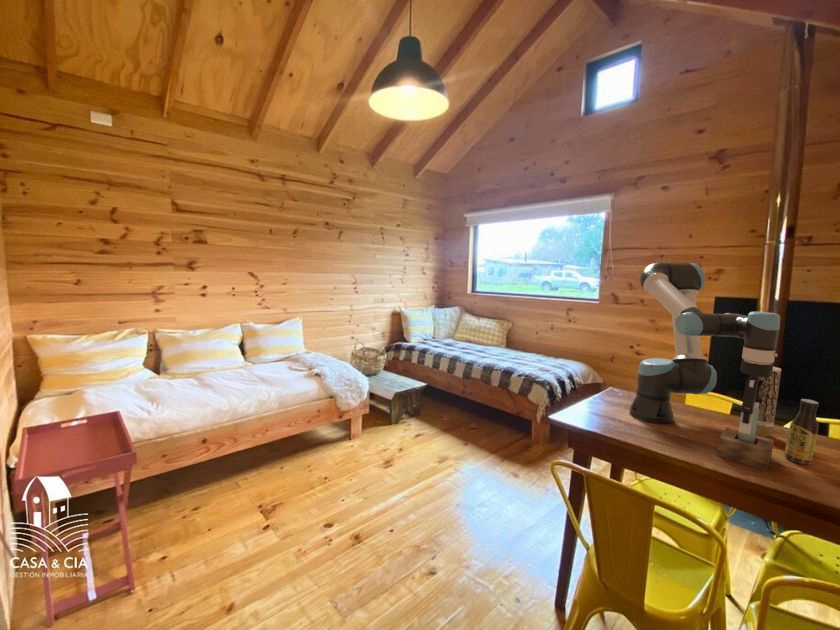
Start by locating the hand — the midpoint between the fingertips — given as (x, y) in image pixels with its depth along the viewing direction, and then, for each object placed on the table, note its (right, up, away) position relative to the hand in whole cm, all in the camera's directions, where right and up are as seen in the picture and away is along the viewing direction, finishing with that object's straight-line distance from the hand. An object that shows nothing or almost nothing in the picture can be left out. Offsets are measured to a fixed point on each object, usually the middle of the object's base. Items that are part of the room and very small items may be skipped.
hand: (747, 426), depth 123 cm
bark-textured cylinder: (+20, -8, +19) cm, 29 cm away
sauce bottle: (+15, -11, -1) cm, 19 cm away
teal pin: (0, -8, +1) cm, 8 cm away
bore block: (0, -10, +1) cm, 10 cm away
